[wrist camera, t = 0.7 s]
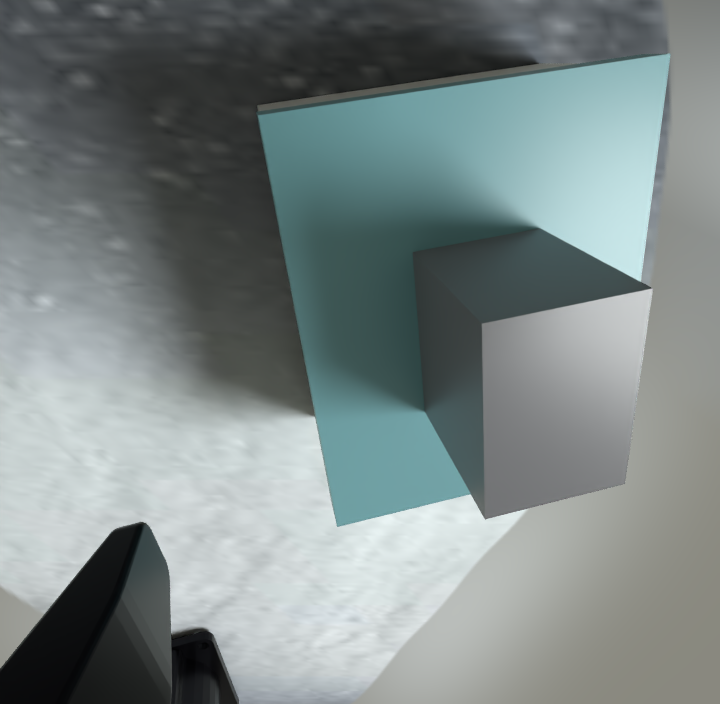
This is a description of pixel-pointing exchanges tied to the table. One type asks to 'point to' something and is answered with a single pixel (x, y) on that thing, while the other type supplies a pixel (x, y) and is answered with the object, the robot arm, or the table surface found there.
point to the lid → (472, 281)
